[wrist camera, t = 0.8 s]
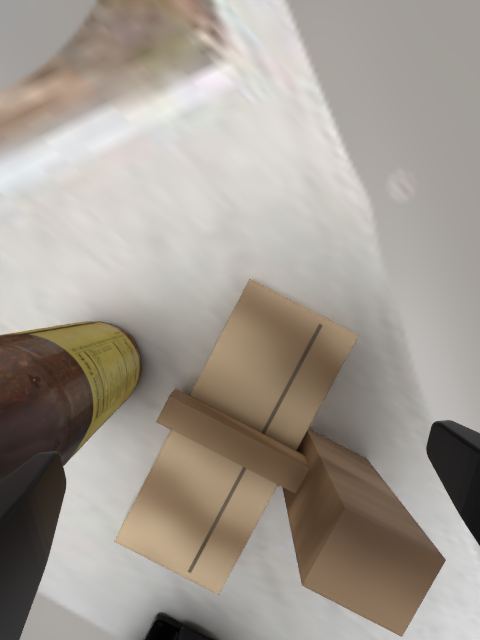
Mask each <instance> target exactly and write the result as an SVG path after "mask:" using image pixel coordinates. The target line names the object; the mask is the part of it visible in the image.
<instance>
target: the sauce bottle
mask: <svg viewBox="0 0 480 640" xmlns="http://www.w3.org/2000/svg"><path fill="white" fill-rule="evenodd" d="M140 359H141V358H140V356H139V352H138V349H137V347H136V345H135V342H134V340H133V339H132V337H131V336H130V335H129V334H127V333H125V332H124V331H123V330H122V329H119V328H117V327H115V326H112V325H110V324H107V323H104V322H80V323H73V324H66V325H60V326H54V327H48V328H42V329H36V330H29V331H23V332H17V333H11V334H5V335H0V482H1V481H2V480H4V479H5V478H6V477H8V476H9V475H10V474H11V473H13V472H14V471H15V470H17V469H18V468H19V467H21V466H22V465H23V464H24V463H26V462H27V461H28V460H30V459H31V458H32V457H33V456H35V455H36V454H38V453H41V452H51V451H57V452H59V454H60V455H61V459H62V463H63V466H64V465H65V464H66V463H67V462H68V461H69V460H70V459H71V457H72V456H73V455H74V454H75V453H76V452H77V451H78V450H79V449H80V448H81V447H82V446H83V445H84V444H85V442H86V441H87V440H88V439H89V438H90V437H91V436H92V435H93V434H94V433H95V432H96V431H97V430H98V429H99V428H100V427H101V426H102V425H103V424H104V423H105V422H106V421H107V420H108V419H109V418H110V417H111V416H112V415H113V413H114V412H115V411H116V410H117V409H118V408H119V407H120V406H121V405H122V404H123V403H124V402H125V401H126V400H127V399H128V397H129V396H130V395H131V394H132V392H133V391H134V389H135V387H136V384H137V381H138V378H139V376H140V373H141V361H140Z"/></svg>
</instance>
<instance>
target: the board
mask: <svg viewBox="0 0 480 640" xmlns="http://www.w3.org/2000/svg"><path fill="white" fill-rule="evenodd" d="M357 337H358V335H357V334H355V333H353V332H351V331H349V330H347V329H345V328H343V327H342V326H340V325H338V324H336V323H334V322H332V321H330V320H328V319H326V318H324V317H322V316H320V315H318V314H317V313H315V312H313V311H311V310H309V309H307V308H305V307H303V306H301V305H299V304H297V303H295V302H293V301H292V300H290V299H288V298H286V297H284V296H282V295H280V294H278V293H276V292H274V291H272V290H270V289H268V288H266V287H265V286H263V285H261V284H259V283H257V282H255V281H253V280H251V279H249V281H248V283H247V285H246V287H245V289H244V291H243V293H242V295H241V297H240V299H239V301H238V303H237V305H236V306H235V308H234V310H233V312H232V314H231V316H230V318H229V320H228V322H227V324H226V326H225V328H224V330H223V332H222V334H221V335H220V337H219V339H218V341H217V343H216V345H215V347H214V349H213V351H212V353H211V355H210V357H209V359H208V361H207V363H206V364H205V366H204V368H203V370H202V372H201V374H200V376H199V378H198V380H197V382H196V384H195V386H194V388H193V390H192V392H191V394H190V395H189V396H191V397H193V398H195V399H196V400H198V401H200V402H202V403H204V404H206V405H208V406H210V407H212V408H214V409H216V410H218V411H220V412H222V413H224V414H226V415H227V416H229V417H231V418H233V419H235V420H237V421H239V422H241V423H243V424H245V425H247V426H249V427H251V428H253V429H255V430H257V431H258V432H260V433H262V434H264V435H266V436H268V437H270V438H272V439H274V440H276V441H278V442H280V443H282V444H284V445H286V446H288V447H289V448H291V449H293V450H295V451H296V450H297V448H298V446H299V445H300V443H301V441H302V439H303V437H304V435H305V433H306V432H307V430H308V428H309V426H310V424H311V422H312V420H313V419H314V417H315V415H316V413H317V411H318V409H319V407H320V406H321V404H322V402H323V400H324V398H325V396H326V394H327V393H328V391H329V389H330V387H331V385H332V383H333V381H334V380H335V378H336V376H337V374H338V372H339V370H340V368H341V367H342V365H343V363H344V361H345V359H346V357H347V355H348V354H349V352H350V350H351V348H352V346H353V344H354V342H355V341H356V339H357ZM277 485H278V484H276V483H274V482H272V481H270V480H268V479H266V478H264V477H262V476H260V475H258V474H256V473H254V472H252V471H250V470H248V469H247V468H245V467H243V466H241V465H239V464H237V463H235V462H233V461H231V460H229V459H227V458H225V457H223V456H221V455H219V454H217V453H215V452H214V451H212V450H210V449H208V448H206V447H204V446H202V445H200V444H198V443H196V442H194V441H192V440H190V439H188V438H186V437H184V436H183V435H181V434H179V433H177V432H175V431H173V430H171V432H170V434H169V436H168V438H167V440H166V442H165V444H164V446H163V448H162V450H161V452H160V454H159V455H158V457H157V459H156V461H155V463H154V465H153V467H152V469H151V471H150V473H149V475H148V477H147V479H146V481H145V483H144V484H143V486H142V488H141V490H140V492H139V494H138V496H137V498H136V500H135V502H134V504H133V506H132V508H131V510H130V512H129V513H128V515H127V517H126V519H125V521H124V523H123V525H122V527H121V529H120V531H119V533H118V535H117V537H116V539H115V541H114V542H116V543H118V544H120V545H122V546H124V547H126V548H128V549H130V550H132V551H134V552H136V553H138V554H140V555H142V556H144V557H146V558H148V559H149V560H151V561H153V562H155V563H157V564H159V565H161V566H163V567H165V568H167V569H169V570H171V571H173V572H175V573H177V574H179V575H181V576H183V577H185V578H187V579H189V580H191V581H193V582H195V583H197V584H198V585H200V586H202V587H204V588H206V589H208V590H210V591H212V592H214V593H216V594H218V595H219V593H220V591H221V589H222V588H223V586H224V584H225V582H226V580H227V578H228V576H229V575H230V573H231V571H232V569H233V567H234V565H235V563H236V562H237V560H238V558H239V556H240V554H241V552H242V550H243V549H244V547H245V545H246V543H247V541H248V539H249V537H250V536H251V534H252V532H253V530H254V528H255V526H256V524H257V523H258V521H259V519H260V517H261V515H262V513H263V511H264V510H265V508H266V506H267V504H268V502H269V500H270V498H271V497H272V495H273V493H274V491H275V489H276V487H277Z"/></svg>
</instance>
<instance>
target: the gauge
mask: <svg viewBox="0 0 480 640" xmlns="http://www.w3.org/2000/svg"><path fill="white" fill-rule="evenodd" d="M156 422H157V423H159V424H161V425H163V426H165V427H167V428H169V429H171V430H173V431H175V432H177V433H179V434H181V435H183V436H184V437H186V438H188V439H190V440H192V441H194V442H196V443H198V444H200V445H202V446H204V447H206V448H208V449H210V450H212V451H214V452H215V453H217V454H219V455H221V456H223V457H225V458H227V459H229V460H231V461H233V462H235V463H237V464H239V465H241V466H243V467H245V468H247V469H248V470H250V471H252V472H254V473H256V474H258V475H260V476H262V477H264V478H266V479H268V480H270V481H272V482H274V483H276V484H278V485H280V486H281V487H283V492H284V497H285V502H286V507H287V512H288V517H289V522H290V527H291V532H292V537H293V542H294V547H295V552H296V557H297V562H298V567H299V572H300V577H301V582H302V586H304V587H306V588H308V589H310V590H312V591H314V592H316V593H318V594H320V595H322V596H323V597H325V598H327V599H329V600H331V601H333V602H335V603H337V604H339V605H341V606H343V607H345V608H347V609H349V610H351V611H353V612H355V613H357V614H359V615H360V616H362V617H364V618H366V619H368V620H370V621H372V622H374V623H376V624H378V625H380V626H382V627H384V628H386V629H388V630H390V631H392V632H394V633H395V634H397V635H399V636H401V637H402V636H403V634H404V632H405V630H406V629H407V627H408V625H409V623H410V622H411V620H412V618H413V616H414V615H415V613H416V611H417V609H418V608H419V606H420V604H421V602H422V601H423V599H424V597H425V595H426V594H427V592H428V590H429V588H430V587H431V585H432V583H433V581H434V580H435V578H436V576H437V574H438V573H439V571H440V569H441V567H442V566H443V564H444V562H445V558H444V557H443V556H442V554H441V553H440V552H439V551H438V549H437V548H436V547H435V546H434V544H433V543H432V542H431V540H430V539H429V538H428V537H427V535H426V534H425V533H424V531H423V530H422V529H421V528H420V526H419V525H418V524H417V522H416V521H415V520H414V519H413V517H412V516H411V515H410V513H409V512H408V511H407V510H406V508H405V507H404V506H403V504H402V503H401V502H400V501H399V499H398V498H397V497H396V496H395V494H394V493H393V492H392V490H391V489H390V488H389V487H388V485H387V484H386V483H385V481H384V480H383V479H382V478H381V476H380V475H379V474H378V472H377V471H376V470H375V469H374V467H373V466H372V465H371V463H370V462H369V461H368V460H367V459H366V458H364V457H362V456H360V455H358V454H356V453H354V452H352V451H350V450H348V449H346V448H344V447H342V446H340V445H338V444H337V443H335V442H333V441H331V440H329V439H327V438H325V437H323V436H321V435H319V434H317V433H315V432H313V431H311V430H309V429H308V430H307V432H306V433H305V435H304V437H303V439H302V441H301V443H300V445H299V446H298V448H297V450H296V451H295V450H293V449H291V448H289V447H288V446H286V445H284V444H282V443H280V442H278V441H276V440H274V439H272V438H270V437H268V436H266V435H264V434H262V433H260V432H258V431H257V430H255V429H253V428H251V427H249V426H247V425H245V424H243V423H241V422H239V421H237V420H235V419H233V418H231V417H229V416H227V415H226V414H224V413H222V412H220V411H218V410H216V409H214V408H212V407H210V406H208V405H206V404H204V403H202V402H200V401H198V400H196V399H195V398H193V397H191V396H189V395H187V394H185V393H183V392H181V391H179V390H177V389H175V390H174V391H173V392H172V394H171V395H170V396H169V398H168V400H167V402H166V404H165V406H164V408H163V410H162V412H161V414H160V416H159V417H158V419H157V421H156Z"/></svg>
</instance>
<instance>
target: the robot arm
mask: <svg viewBox="0 0 480 640" xmlns="http://www.w3.org/2000/svg"><path fill="white" fill-rule="evenodd" d="M426 450H427V455H428V457H429V459H430V461H431V463H432V465H433V467H434V469H435V471H436V472H437V474H438V476H439V478H440V480H441V482H442V484H443V485H444V487H445V489H446V491H447V493H448V495H449V497H450V498H451V500H452V502H453V504H454V506H455V507H456V509H457V511H458V513H459V514H460V516H461V518H462V519H463V521H464V523H465V524H466V526H467V527H468V529H469V530H470V532H471V533H472V535H473V536H474V538H475V539H476V541H477V542H478V544H479V545H480V433H478V432H476V431H474V430H471V429H469V428H467V427H465V426H463V425H460V424H458V423H456V422H454V421H450V420H446V421H436V422H434V423H433V424H432V427H431V430H430V434H429V439H428V443H427V447H426ZM65 490H66V477H65V472H64V468H63V463H62V459H61V455H60V454H59V452H57V451H51V452H41V453H38V454H36V455H35V456H33V457H32V458H31V459H30V460H28V461H27V462H26V463H24V464H23V465H22V466H21V467H19V468H18V469H17V470H15V471H14V472H13V473H11V474H10V475H9V476H8V477H6V478H5V479H4V480H2V481H1V482H0V640H19V639H20V636H21V634H22V631H23V628H24V625H25V623H26V620H27V617H28V614H29V611H30V609H31V606H32V603H33V600H34V598H35V595H36V592H37V589H38V587H39V584H40V581H41V578H42V576H43V573H44V570H45V567H46V564H47V561H48V557H49V553H50V550H51V546H52V542H53V538H54V534H55V530H56V526H57V522H58V518H59V514H60V510H61V506H62V502H63V498H64V494H65ZM159 623H162V624H159ZM144 640H211V639H210V638H208V637H206V636H204V635H202V634H200V633H198V632H196V631H194V630H192V629H190V628H188V627H186V626H184V625H182V624H180V623H178V622H176V621H174V620H172V619H170V618H168V617H166V616H164V615H158V616H156V617H155V619H154V621H153V623H152V625H151V626H150V628H149V630H148V632H147V634H146V636H145V638H144Z"/></svg>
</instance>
